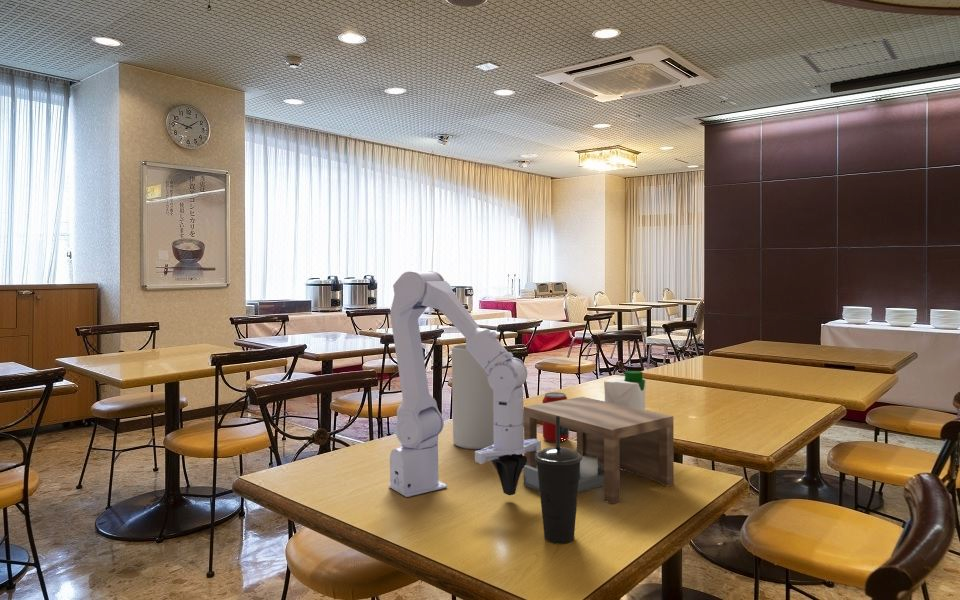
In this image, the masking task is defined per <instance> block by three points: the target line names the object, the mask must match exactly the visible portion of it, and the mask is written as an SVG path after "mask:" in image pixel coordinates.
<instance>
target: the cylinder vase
mask: <svg viewBox="0 0 960 600" xmlns="http://www.w3.org/2000/svg"><path fill="white" fill-rule="evenodd" d="M488 376H489V374H488V373H486V372H485V370H484V369H483V368H482V367H481V366H480V364H479V363H478V362H477V361H476V359H475V358H474V357H473V356H472V355H471V353H470V352H469V351H468V350H467V348H466V343H465V344H456V345H452V346H451V384H452V385H451V388H452V389H451V390H452V391H451V392H452V394H451V395H452V397H451V398H452V399H451V400H452V442H453V444H454V445H455V446H456V447H459V448H463V449H467V450H481V449H484V448H486V447H489V446H491V445H493V444H494V414H493V390H492V388H491V387H490V385H489V383H488V378H487V377H488Z"/></svg>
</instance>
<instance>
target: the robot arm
mask: <svg viewBox="0 0 960 600" xmlns="http://www.w3.org/2000/svg"><path fill="white" fill-rule="evenodd" d="M392 288H393V293H394V295H393V300H392V303H391V307H390V311H389V313H390V315H389V316H390V323H391V330H392V336H393V342H394V349H395V356H396V362H397V369H398V375H399V382H400V387H401V388H400V389H401V393H402V394H401V396H402V400H401V402H400V403H399V406H398V407H397V410H396V416H397V418H396V423H395V428H394V429H395V430H394V431H395V435H396V438H397V440H398V442H400V444H401V445H400V446H399V447H395V448H393V449H392V450H391V451H390V456H389V470H390V471H389V479H390V480H389V481H390V482H389V484H388V487H389V488H391V489H392V490H393V491H396V492H397V493H398V494H401V495H402V496H404V497H405V498H408V497H409V498H410V497H414V496H417V495H421V494H424V493H430V492H433V491H437V490H438V491H439V490H442V489H446V488H447V487H448V485H447V483H444V482H442V481H440V480H439V435H440V434H441V432H442V431H443V428H444V426H445V424H444V423H445V422H444V418H443V415H442V413H441V412H440V411H439V408H438V403H437V400H436V399H435V397H433V396H431V394H430V390H429V383H428V378H427V371H426V364H425V357H424V350H423V344H422V337H421V333H420V332H421V330H420V325H419V318H421V316H422V315H423V313H425V311H426V309H427V308H431V309H435V310H439V311H440V312H441V313H442V314H443V315H444V316H445V317H446V318H447V319H448V321H450V322H451V323H452V325H453V326H454V327H455V328H456V329H457V330H458V332H460V333H461V334H462V336H463V337H464V338H465V344H466V348H467V350H468V351H469V352H470V353H471V355H472V356H473V357H474V358H475V359H476V361H477V362H478V363H479V364H480V366H481V367H482V368H483V369H484V370H485V372H486V373H488V374H489V376H488V377H487V378H488V383H489V385H490V387H491V388H492V390H493V414H494V444H493V445H491V446H489V447H486V448H484V449H477V450H475V451H474V462H475V463H478V464H480V465H482V464H485V463H486V462H489V461H491V463H492V464H493V466H494V468H495V470H496V472H497V474H498V477H499V480H500V484H501V488H502V492H503V494H505V495H508V496H513V495H515V494H516V492H517V487H518V483H519V481H520V480H519V479H520V476H521V473H522V471H523V468H524V466H525V464H526V463H527V457H526V456H524V453H525V452H530V451H534V450H535V451H537V452H539V451H541V450H542V441H541V440H540V439H538V438H537V439H529V440H524V386H523V385H524V384H525V382H526V381H527V379H528V370H527V367H526V365H525V364H524V361H523V360H521V359H520V358H517V357H514V354H513V353H512V352H511V351H508V350H507V349H506V348H505V346H503V344H502V343H501V342H500V340H499V339H498V337H499V335H498V334H497V332H496V331H491V330H490V329H489V328H481V327H480V326H479V324H478V323H477V322H476V320H475V319H474V318H473V316H472V315H471V313H469V311H468V310H467V309H466V307H465V306H464V305H463V303H462V302H461V300H460V299H459V297H457V295H456V293H454V290H453V289H452V285H451V284H450V283H449V282H448V281H447V280H445V279H444V277H443V276H442V275H441V274H440V273H439V272H437V271H434V270H433V271H431V270H430V271H413V270H412V271H411V270H409V271H406V272H403V273H402V274H401V275H400V276H399V278H398V279H396V281H395V282H394V283H393V285H392Z"/></svg>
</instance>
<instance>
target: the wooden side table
mask: <svg viewBox="0 0 960 600" xmlns="http://www.w3.org/2000/svg"><path fill="white" fill-rule="evenodd" d="M556 416H560V426H562V427H566V428H569V430H573V431H576V451H579V452H582V454H583V456H594V457H597V458H598V463H601V464H603V467H604V468H603V469H604V490H603V491H604V493H603V494H604V499H603V500H604V502H606V503H609V504H613V505H614V504H616V503H619V502H621V499H620V498H621V496H620V494H621V492H620V491H621V490H620V483H621V482H620V478H621V476H620V470H622V471H625V472H627V473H631V474H634V475H637V476H640V477H643V478H646V479H648V480H653V481H656V482H658V483H659V485H663V486H665V487H669V486H673V485H674V483H675V482H674V477H675V476H674V475H675V473H674V470H675V468H674V460H675V459H674V455H675V454H674V416H673V415H670V414H666V413H665V414H664V413H660V412H657V411H651V410H647V409H645V410H642V409H638V408H633V407H628V406H624V405H619V404H614V403H610V402H605V400H600V399H596V398H590V397H587V396H579V397H574V398H567V399H566V400H560V401H554V402H548V403H543V402H542V403H539V404H532V405H526V406H523V421H524V440H529V439H537V440H538V434H537V433H538V429H537V427H538V426H537V423H538V421H542V422H543V421H544V422H548V423H552V424H555V425H556ZM537 452H538V451H535V450H534V451H530V452H525V453H524V454H523V456H526V457H527V463H526V464H525V465H528V466H531V467H534V468H536V469H537V460H536V459H535V454H536V453H537Z"/></svg>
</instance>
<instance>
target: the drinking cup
mask: <svg viewBox="0 0 960 600" xmlns="http://www.w3.org/2000/svg"><path fill="white" fill-rule="evenodd" d="M576 451H577V450H573V449H571V448H569V447H564V446H561V442H560V416H556V442H555V446H550V447H546V448H543V449H541V450H540V451H537V453H536V454H535V459H536V460H537V469H538V479H539V489H540V492H539V496H540V506H541V507H540V508H541V516H542V525H543V526H542V527H543V536H544V540H546V541H547V540H548V541H547V542H549V543H551V542H552V544H556V543H559V545H560V544H561V545H563V544H567V543H572V542H573V541H574V539H575V531H576V527H575V526H576V520H577V519H576V517H577V507H578V506H577V505H578V494H579V493H578V482H579V470H580V461H581V460H582V455H581V454H580V453H578V452H576Z"/></svg>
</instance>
